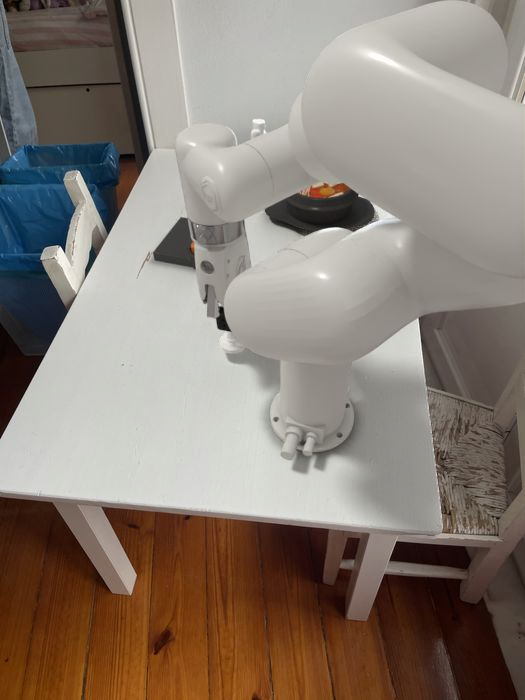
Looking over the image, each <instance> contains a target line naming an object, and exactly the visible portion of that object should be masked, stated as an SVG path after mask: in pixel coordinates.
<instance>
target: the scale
mask: <svg viewBox="0 0 525 700" xmlns="http://www.w3.org/2000/svg"><path fill="white" fill-rule="evenodd" d="M193 242H194V241H193V240H192V238H191V234H190V229H189V223H188V218H187V217H183V216H180V217H179V218H178V219H177V221H176V223H174V225H173V226H172V227H171V229H170V230H169V232H168V233H167V234H166V235H165V236H164V237H163V239H162V240H161V241H160V243H159V244H158V245H157V247H155V249H154V250H153V252H152V255H153V260H154V261H155V262H160V263H166V264H167V263H168V264H171V265H177V266H183V267H188V268H193V269H196V265H195V253H193V252H192V250H191V244H192V243H193Z"/></svg>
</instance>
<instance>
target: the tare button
mask: <svg viewBox="0 0 525 700" xmlns="http://www.w3.org/2000/svg"><path fill="white" fill-rule="evenodd" d="M194 244H195V243H194V242H193V243H192V244H191V250H192V252H193V253H195V249H194Z"/></svg>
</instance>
